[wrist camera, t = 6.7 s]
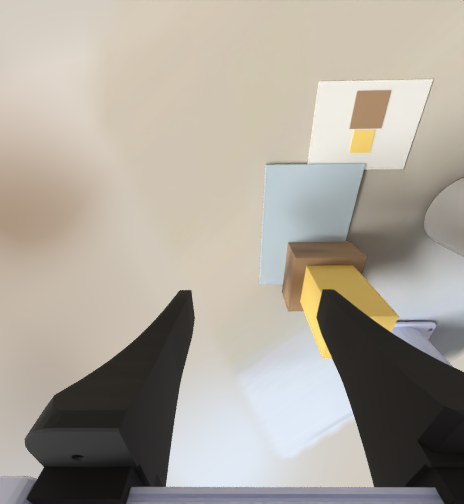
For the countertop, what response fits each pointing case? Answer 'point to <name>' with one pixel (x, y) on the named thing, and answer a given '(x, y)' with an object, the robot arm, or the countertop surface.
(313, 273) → the ochre brick
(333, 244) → the walnut base brick
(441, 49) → the countertop surface
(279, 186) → the plate
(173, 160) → the countertop surface
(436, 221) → the beverage can
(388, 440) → the robot arm
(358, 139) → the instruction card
